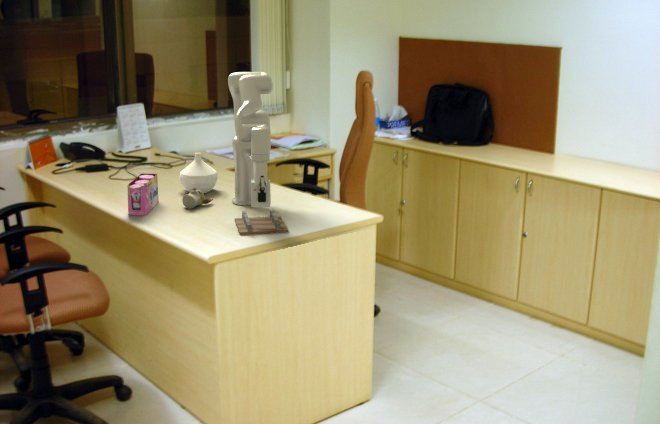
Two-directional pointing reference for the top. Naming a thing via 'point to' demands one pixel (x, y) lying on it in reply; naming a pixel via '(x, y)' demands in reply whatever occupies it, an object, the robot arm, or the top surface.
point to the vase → (198, 175)
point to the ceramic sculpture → (195, 199)
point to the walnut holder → (260, 224)
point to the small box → (255, 195)
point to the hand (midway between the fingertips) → (260, 199)
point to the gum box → (142, 194)
